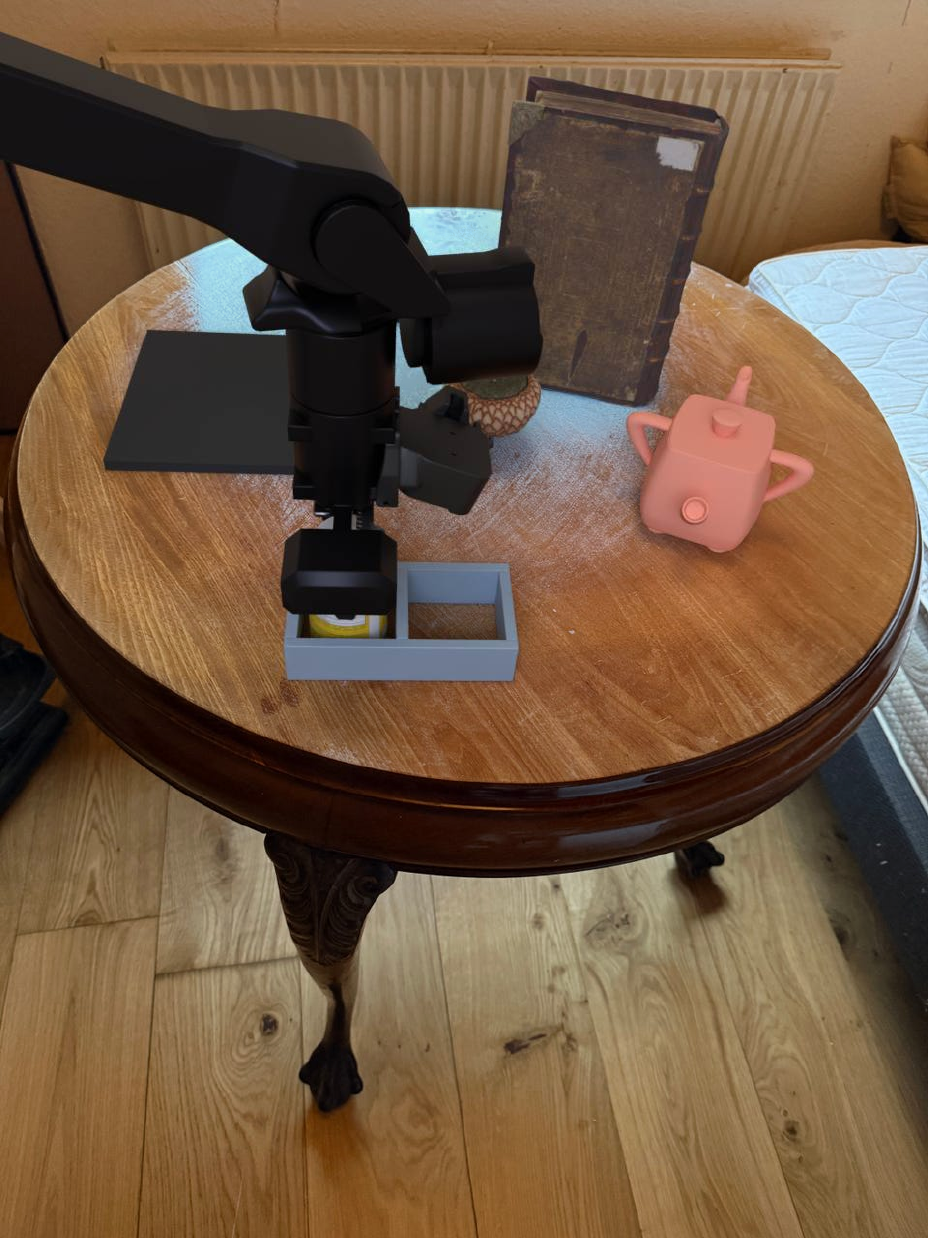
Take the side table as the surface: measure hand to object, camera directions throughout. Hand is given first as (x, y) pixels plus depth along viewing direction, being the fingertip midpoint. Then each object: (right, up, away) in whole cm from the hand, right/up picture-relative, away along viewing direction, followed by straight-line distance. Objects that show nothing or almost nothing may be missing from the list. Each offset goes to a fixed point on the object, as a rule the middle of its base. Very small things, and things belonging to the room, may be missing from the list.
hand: (347, 586), depth 62 cm
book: (+18, +20, +28) cm, 39 cm away
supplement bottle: (0, -3, +4) cm, 5 cm away
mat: (-13, +17, +21) cm, 30 cm away
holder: (+3, -3, +4) cm, 6 cm away
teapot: (+27, +6, +16) cm, 32 cm away
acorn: (+10, +12, +19) cm, 25 cm away
